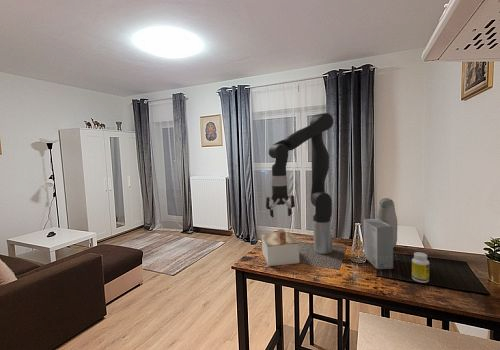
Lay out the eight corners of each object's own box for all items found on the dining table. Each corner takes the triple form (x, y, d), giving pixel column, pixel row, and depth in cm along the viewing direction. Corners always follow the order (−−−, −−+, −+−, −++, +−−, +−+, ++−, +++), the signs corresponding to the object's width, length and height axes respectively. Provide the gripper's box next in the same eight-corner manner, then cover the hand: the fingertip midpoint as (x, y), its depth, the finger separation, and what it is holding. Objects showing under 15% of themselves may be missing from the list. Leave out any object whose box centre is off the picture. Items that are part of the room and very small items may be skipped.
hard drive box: (393, 269, 120) (393, 227, 118) (377, 269, 120) (376, 227, 118) (378, 255, 135) (377, 218, 134) (363, 256, 136) (362, 218, 134)
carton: (289, 249, 149) (289, 232, 148) (299, 262, 132) (298, 243, 131) (262, 252, 148) (261, 235, 147) (268, 266, 130) (267, 246, 129)
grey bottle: (375, 244, 151) (375, 196, 148) (395, 245, 147) (395, 196, 145) (377, 250, 141) (377, 200, 139) (399, 252, 138) (399, 200, 135)
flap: (289, 232, 148) (288, 221, 148) (298, 243, 131) (298, 230, 130) (261, 235, 147) (261, 223, 146) (267, 246, 129) (266, 233, 128)
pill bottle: (429, 284, 105) (429, 258, 104) (411, 281, 109) (411, 255, 108) (428, 277, 111) (429, 252, 110) (411, 274, 114) (411, 250, 113)
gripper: (291, 182, 134) (292, 213, 136) (264, 184, 132) (265, 215, 134) (295, 184, 127) (296, 217, 128) (266, 186, 125) (268, 219, 127)
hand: (280, 216), depth 131 cm, fingers open, 8 cm apart
